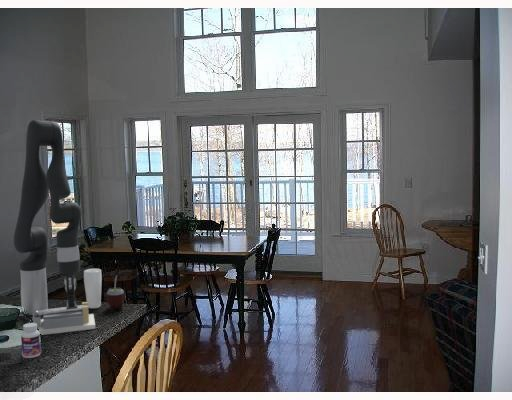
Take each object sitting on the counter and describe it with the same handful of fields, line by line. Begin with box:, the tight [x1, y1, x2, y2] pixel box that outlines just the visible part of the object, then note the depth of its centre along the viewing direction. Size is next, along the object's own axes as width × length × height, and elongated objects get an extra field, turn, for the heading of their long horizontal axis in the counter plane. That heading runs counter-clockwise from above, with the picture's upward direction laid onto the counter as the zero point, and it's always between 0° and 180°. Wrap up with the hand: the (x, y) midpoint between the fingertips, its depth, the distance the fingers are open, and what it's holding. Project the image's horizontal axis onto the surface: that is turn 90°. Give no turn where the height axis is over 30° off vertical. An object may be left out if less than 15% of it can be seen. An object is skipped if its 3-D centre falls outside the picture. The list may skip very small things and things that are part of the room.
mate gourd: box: [105, 274, 126, 312], centre depth 215 cm, size 8×8×15 cm
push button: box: [63, 281, 78, 306], centre depth 220 cm, size 7×5×10 cm
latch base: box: [32, 301, 96, 336], centre depth 195 cm, size 22×13×7 cm, turn 109°
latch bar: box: [34, 304, 86, 317], centre depth 195 cm, size 18×4×2 cm, turn 109°
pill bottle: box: [20, 322, 42, 359], centre depth 169 cm, size 5×5×10 cm
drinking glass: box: [83, 268, 103, 309], centre depth 218 cm, size 7×7×15 cm
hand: (71, 306), depth 196 cm, fingers closed
